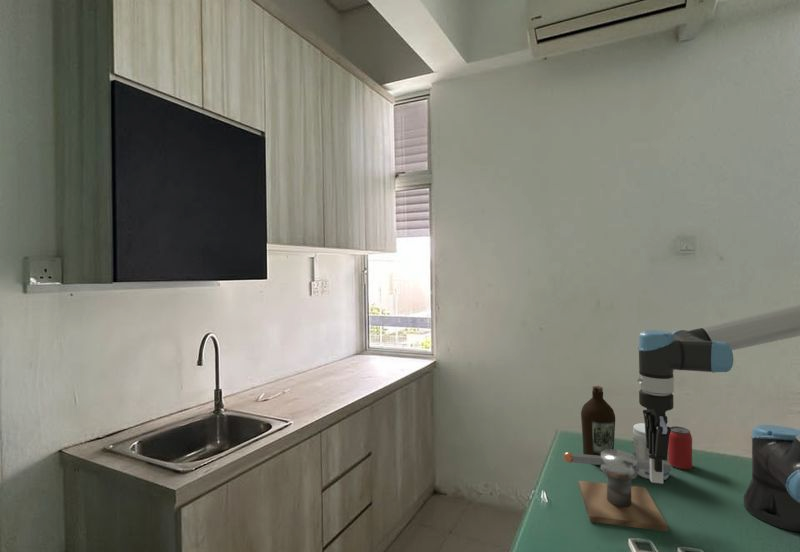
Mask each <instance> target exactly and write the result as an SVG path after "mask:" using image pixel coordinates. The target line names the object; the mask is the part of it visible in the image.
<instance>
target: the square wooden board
mask: <svg viewBox="0 0 800 552" xmlns="http://www.w3.org/2000/svg"><path fill="white" fill-rule="evenodd" d="M578 487H579V490H580V493H581V497H582V501H583V504H584V507H585V510H586V513H587V516H588V519H589V523H597V524H607V525H612V526H621V527H629V528H630V527H631V528H637V529H645V530H653V531H661V532H669V531H668V530H669V528H668V527H669V525H668V524H667V522H666V521H665V518H664V517H663V515H662V514H661V511H659V508H658V507H657V505H656V504H655V501H654V500H653V498H652V497H651V495H650V493H649V492H648V489H646V487H645V486H634V485H632V479H619V478H615V477H612V476H609V475H607V474H606V483H605V482H595V481H588V480H587V481H586V480H578Z"/></svg>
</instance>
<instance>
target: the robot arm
mask: <svg viewBox="0 0 800 552" xmlns="http://www.w3.org/2000/svg"><path fill="white" fill-rule="evenodd" d="M796 337H800V304H796V305H791V306H787V307H783V308H779V309H775V310H771V311H766V312H762V313H758V314H752V315H749V316H745V317H741V318H737V319H734V320H729V321H728V320H727V321H724V322H721V323H717V324H712V325H707V326H703V327H699V328H695V329H690V330H687V329H685V330H683V329H677V330H674V331H672V332H669V331H666V330H653V329H652V330H650V329H649V330H643V331H641V333H640V334H639V338H638V373H639V377H637V378H636V381H637V382H638V383H639V384H638V385H639V386H638V387H639V389H640V390H638V397H639V398H638V400H639V401H638V402H639V405H640V406H641V407H643V408H645V409H643V410H642V415H643V419H644V423H645V434H646V447H647V449H649V454H651V455H649V458H650V479H649V481H650V482H651V483H654V484H664V480H663V460H667V454H668V444H669V435H670V432H671V428H670V427H671V426H667V423H668V416H667V414H666V412H668V411H671V410H673V409H674V395H673V393H674V392H675V391H674V389H675V387H674V385H675V382H674V380H675V378H674V377H675V376H674V371H689V372H690V371H693V372H702V373H703V372H704V373H705V372H707V373H728V372H730V371H731V370H732V368H733V366H734V353H733V351H735V350H740V349H745V348H749V347H754V346H758V345H763V344H768V343H773V342H778V341H783V340H787V339H791V338H796ZM751 433H752V434H751V437H750V438H751V470H752V471H751V480H750V482H749V484H748V486H747V489H746V490H745V493H744V496H743V506H744V508H745V509H746V511H747V512H748V513H749V514H751V515H753V516H754V517H755V518H757V519H759V520H760V521H762V522H764V523H766V524H769V525H771V526H774V527H777V528H779V529H783V530H788V531H792V532H796V531H799V532H798V533H800V429H797V428H794V427H793V428H792V427H789V426H788V427H787V426H782V425H774V424H773V425H772V424H761V425H760V424H759V425H755V426H754V427H753V428H752V432H751Z"/></svg>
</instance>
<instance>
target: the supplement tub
mask: <svg viewBox="0 0 800 552" xmlns="http://www.w3.org/2000/svg"><path fill="white" fill-rule="evenodd" d="M632 445H633V447H632V448H633V452H632V453H633V455H634V456H635V457H636V458H637V459H643V460H650V458H649V455H651V454H649V449H647V447H646V434H645V422H643V423H642V422H641V423H636V424H633V429H632ZM663 461H665V462H669V458H668V454H667V460H663ZM637 469H638V468H637ZM637 476H640V477H642V478H644V479H646V480H650V470H649V469H638V475H637ZM669 476H670V471H663V481H664V480H667V479H668V478H669Z"/></svg>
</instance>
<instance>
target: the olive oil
mask: <svg viewBox="0 0 800 552" xmlns="http://www.w3.org/2000/svg"><path fill="white" fill-rule="evenodd" d="M603 390H604V388H603V387H602V386H600V385H593V386H592V392H591V394H592V395H591V398H590V399H589V400H587V402H585V403H584V405H582V408H581V411H580V417H581V418H580V420H581V433H582V435H581V436H582V454H586V455H598V456H601V452H602V451H604V450H608V449H615V430H616V414H615V411H614V409H613V407H612V406H611V405H610V404H609V403H608V402H607V401H606V399H604V391H603Z"/></svg>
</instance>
